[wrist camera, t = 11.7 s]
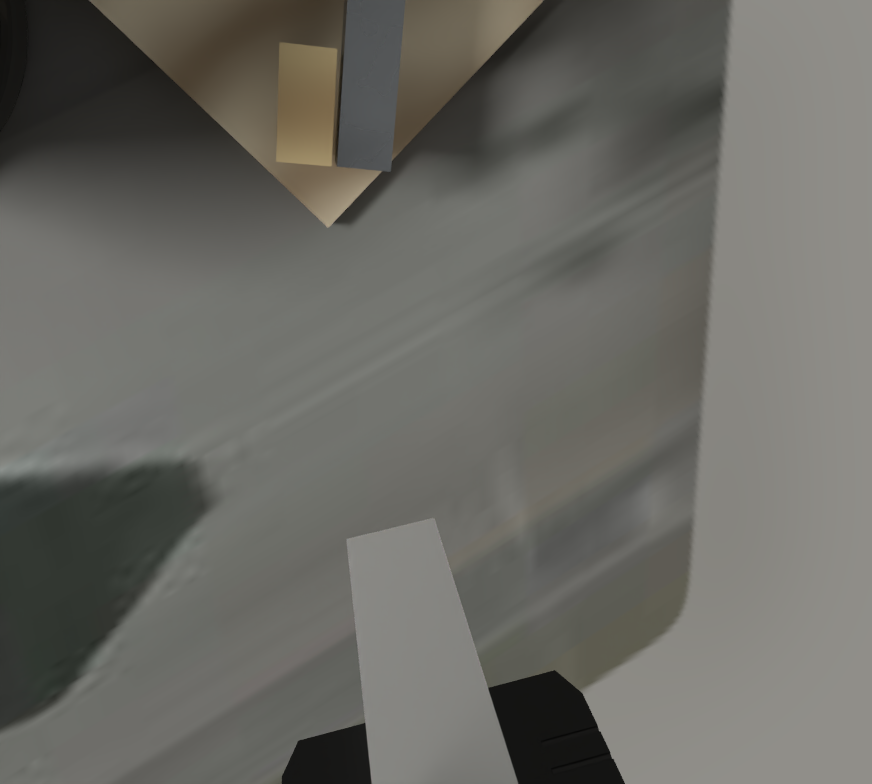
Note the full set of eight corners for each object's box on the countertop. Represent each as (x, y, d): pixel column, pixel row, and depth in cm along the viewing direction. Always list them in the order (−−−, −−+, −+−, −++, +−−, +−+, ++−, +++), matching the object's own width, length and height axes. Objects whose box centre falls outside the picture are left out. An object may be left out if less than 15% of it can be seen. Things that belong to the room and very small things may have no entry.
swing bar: (330, -160, 27) (333, -184, 25) (432, -143, 28) (443, -164, 26) (313, 159, 31) (315, 164, 29) (403, 168, 32) (412, 173, 29)
